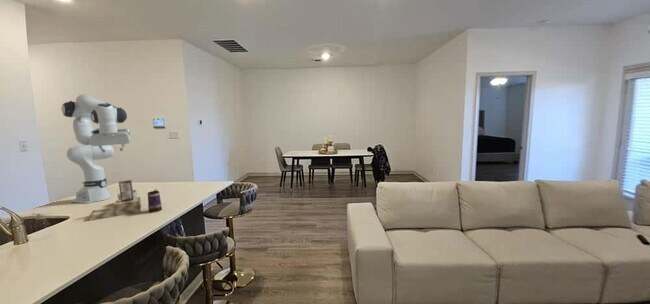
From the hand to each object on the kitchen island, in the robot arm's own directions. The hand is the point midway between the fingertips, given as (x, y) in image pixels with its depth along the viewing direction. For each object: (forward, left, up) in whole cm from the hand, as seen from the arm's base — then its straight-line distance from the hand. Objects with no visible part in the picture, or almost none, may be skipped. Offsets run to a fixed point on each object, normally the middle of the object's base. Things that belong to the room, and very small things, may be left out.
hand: (112, 151), depth 182 cm
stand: (+10, -14, -36) cm, 40 cm away
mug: (+30, -7, -36) cm, 48 cm away
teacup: (+1, +7, -36) cm, 37 cm away
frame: (+15, -11, -29) cm, 34 cm away
